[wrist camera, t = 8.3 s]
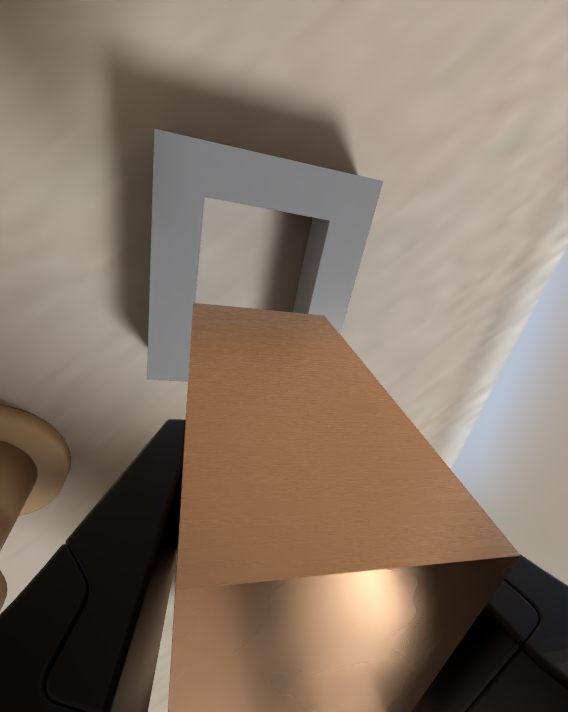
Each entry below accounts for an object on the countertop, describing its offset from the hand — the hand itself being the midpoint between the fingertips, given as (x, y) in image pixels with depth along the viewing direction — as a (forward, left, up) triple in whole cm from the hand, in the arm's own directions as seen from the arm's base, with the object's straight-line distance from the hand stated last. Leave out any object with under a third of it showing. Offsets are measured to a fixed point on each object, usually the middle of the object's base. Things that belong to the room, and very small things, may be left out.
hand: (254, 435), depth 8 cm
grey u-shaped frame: (0, -1, -11) cm, 11 cm away
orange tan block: (0, 0, -1) cm, 1 cm away
